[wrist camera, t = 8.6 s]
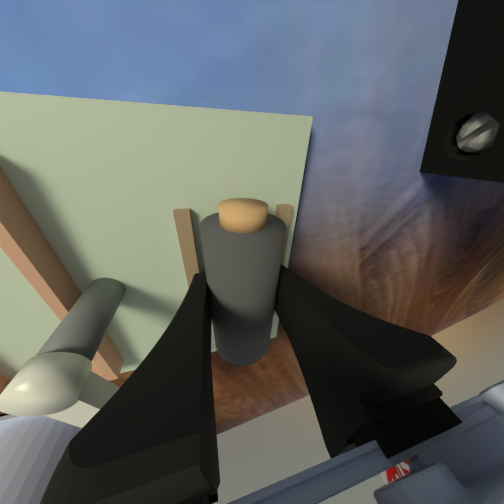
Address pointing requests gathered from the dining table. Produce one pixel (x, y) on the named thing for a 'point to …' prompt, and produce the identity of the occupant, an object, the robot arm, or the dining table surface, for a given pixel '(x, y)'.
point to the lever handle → (57, 389)
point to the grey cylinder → (242, 276)
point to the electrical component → (470, 97)
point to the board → (122, 216)
